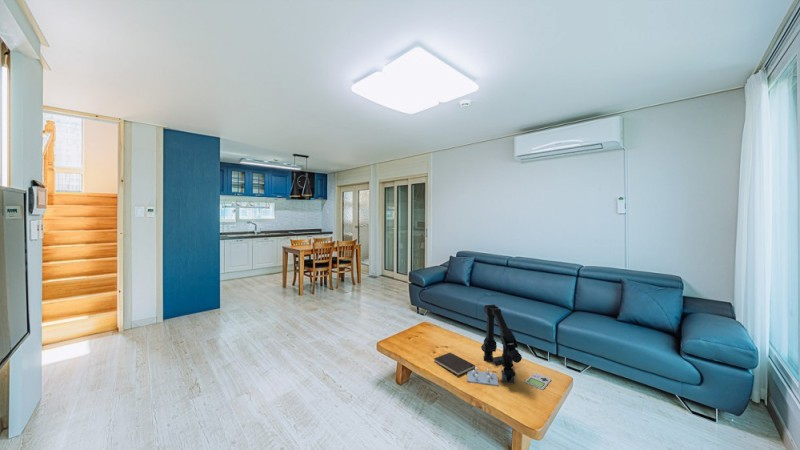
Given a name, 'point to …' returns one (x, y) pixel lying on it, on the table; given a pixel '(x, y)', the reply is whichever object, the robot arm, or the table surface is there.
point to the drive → (504, 379)
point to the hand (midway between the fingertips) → (507, 379)
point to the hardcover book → (454, 364)
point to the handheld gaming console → (538, 381)
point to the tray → (482, 377)
